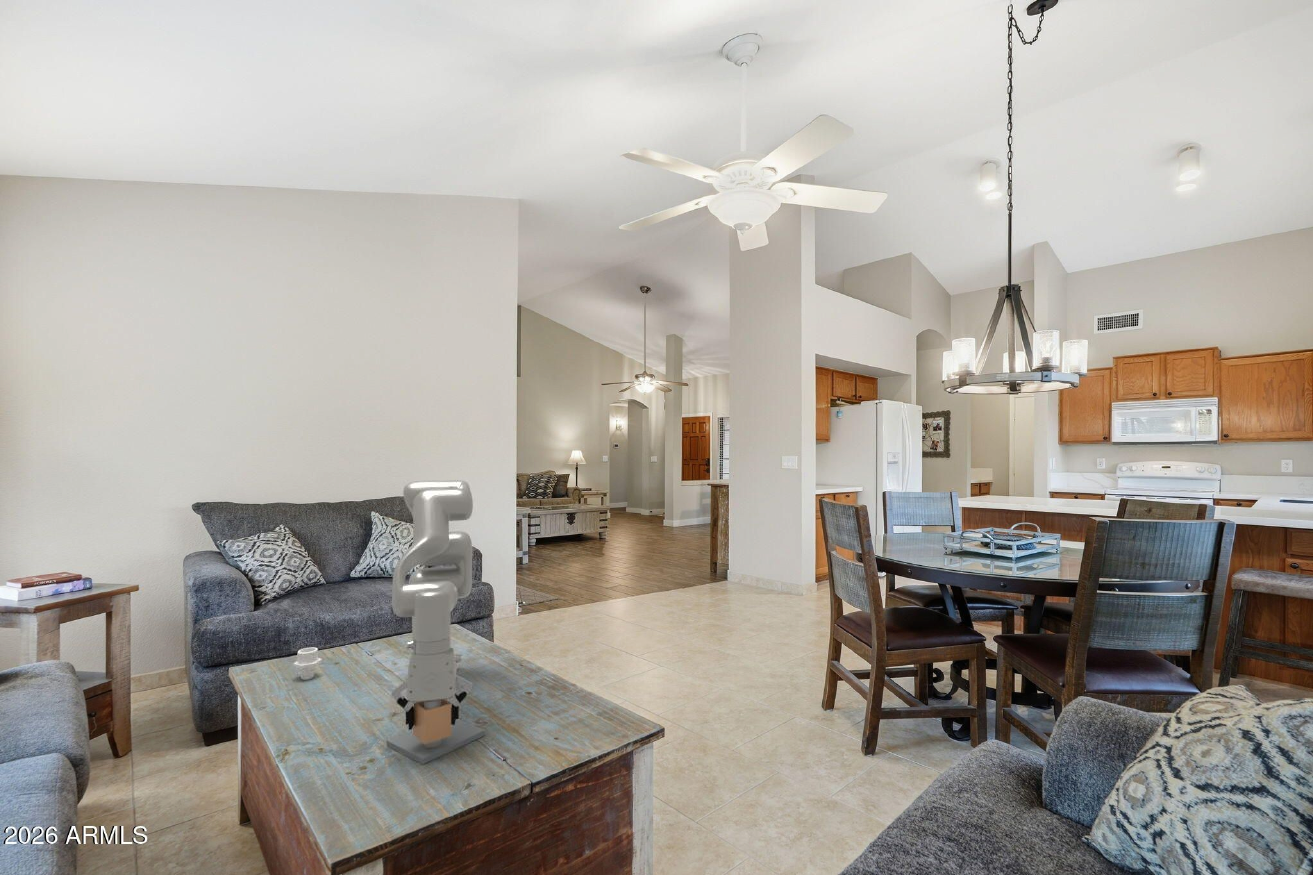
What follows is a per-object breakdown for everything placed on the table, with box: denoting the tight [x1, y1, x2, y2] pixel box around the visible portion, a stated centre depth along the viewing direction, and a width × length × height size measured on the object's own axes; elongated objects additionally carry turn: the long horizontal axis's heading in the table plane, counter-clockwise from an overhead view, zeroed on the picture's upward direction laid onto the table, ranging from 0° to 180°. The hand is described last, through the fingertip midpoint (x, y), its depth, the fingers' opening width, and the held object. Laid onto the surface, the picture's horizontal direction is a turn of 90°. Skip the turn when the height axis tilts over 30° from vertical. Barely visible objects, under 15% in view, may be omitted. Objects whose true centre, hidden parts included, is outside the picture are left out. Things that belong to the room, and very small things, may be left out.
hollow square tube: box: [412, 699, 452, 744], centre depth 135 cm, size 6×6×7 cm
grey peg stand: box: [386, 700, 486, 765], centre depth 139 cm, size 16×14×11 cm
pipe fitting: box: [293, 646, 323, 681], centre depth 178 cm, size 6×7×8 cm
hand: (432, 724), depth 135 cm, fingers closed on hollow square tube, 8 cm apart
